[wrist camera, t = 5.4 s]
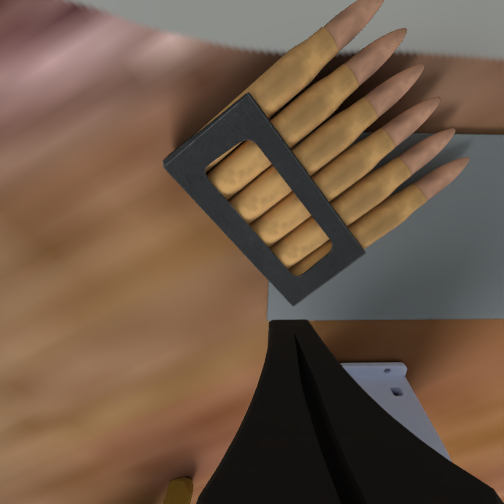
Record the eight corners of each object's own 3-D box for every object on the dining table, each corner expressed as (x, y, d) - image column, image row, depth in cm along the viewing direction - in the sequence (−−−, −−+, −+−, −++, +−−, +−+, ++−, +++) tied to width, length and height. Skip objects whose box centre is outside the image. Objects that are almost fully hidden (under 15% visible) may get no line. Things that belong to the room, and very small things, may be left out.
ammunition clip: (159, 163, 15) (385, -41, 13) (166, 156, 17) (367, -26, 14) (293, 307, 19) (488, 176, 17) (288, 290, 21) (464, 168, 18)
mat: (593, 135, 18) (598, 136, 17) (509, 315, 23) (512, 318, 23) (275, 131, 17) (276, 131, 17) (266, 317, 23) (267, 320, 22)
